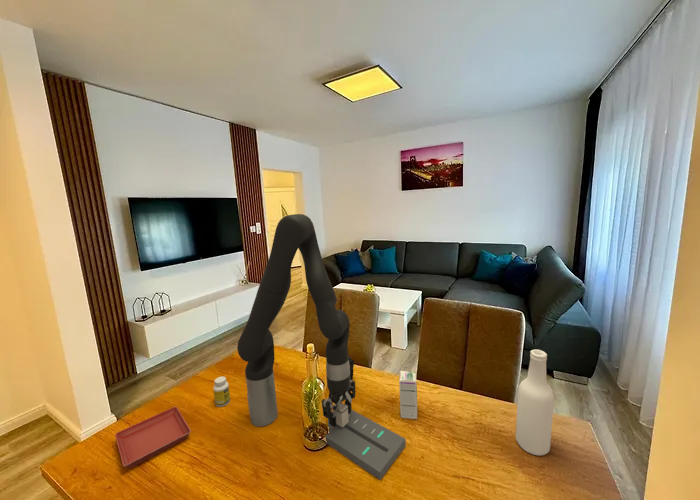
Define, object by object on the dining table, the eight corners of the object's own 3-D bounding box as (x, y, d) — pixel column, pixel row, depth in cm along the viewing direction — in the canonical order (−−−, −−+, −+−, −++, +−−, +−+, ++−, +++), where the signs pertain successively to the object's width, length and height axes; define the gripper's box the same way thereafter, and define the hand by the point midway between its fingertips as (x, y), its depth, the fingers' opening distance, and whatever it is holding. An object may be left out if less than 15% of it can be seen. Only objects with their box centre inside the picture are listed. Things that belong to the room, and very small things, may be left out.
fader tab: (333, 422, 97) (332, 406, 96) (339, 416, 100) (338, 400, 99) (342, 427, 95) (341, 411, 94) (348, 422, 97) (347, 405, 96)
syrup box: (417, 419, 100) (417, 381, 98) (399, 418, 102) (399, 379, 99) (417, 408, 106) (416, 371, 103) (400, 406, 107) (399, 370, 105)
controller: (355, 375, 127) (354, 354, 125) (350, 394, 115) (348, 370, 113) (345, 374, 128) (344, 353, 126) (339, 393, 116) (338, 370, 114)
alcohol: (545, 436, 91) (552, 346, 86) (554, 460, 83) (562, 362, 78) (512, 430, 94) (517, 343, 89) (518, 453, 86) (524, 358, 81)
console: (313, 434, 96) (313, 427, 96) (341, 410, 107) (341, 403, 106) (380, 480, 80) (379, 471, 79) (405, 445, 90) (405, 438, 90)
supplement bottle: (226, 407, 111) (223, 383, 109) (212, 407, 111) (209, 384, 110) (232, 397, 116) (229, 375, 115) (219, 398, 117) (216, 375, 115)
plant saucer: (177, 413, 110) (176, 405, 109) (193, 439, 97) (191, 430, 96) (116, 442, 97) (114, 433, 97) (125, 476, 85) (123, 467, 84)
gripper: (343, 359, 102) (346, 402, 105) (313, 379, 91) (317, 426, 94) (361, 366, 97) (363, 410, 100) (331, 388, 86) (334, 438, 89)
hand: (340, 418), depth 97 cm, fingers open, 7 cm apart
